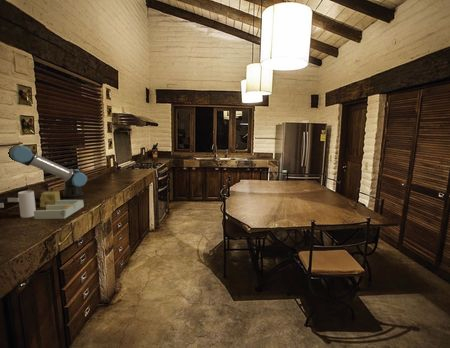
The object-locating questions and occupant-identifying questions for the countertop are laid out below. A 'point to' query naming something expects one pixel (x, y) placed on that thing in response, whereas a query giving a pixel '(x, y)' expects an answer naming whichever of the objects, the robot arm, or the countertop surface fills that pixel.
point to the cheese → (49, 198)
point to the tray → (59, 209)
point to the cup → (26, 203)
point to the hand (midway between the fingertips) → (11, 202)
